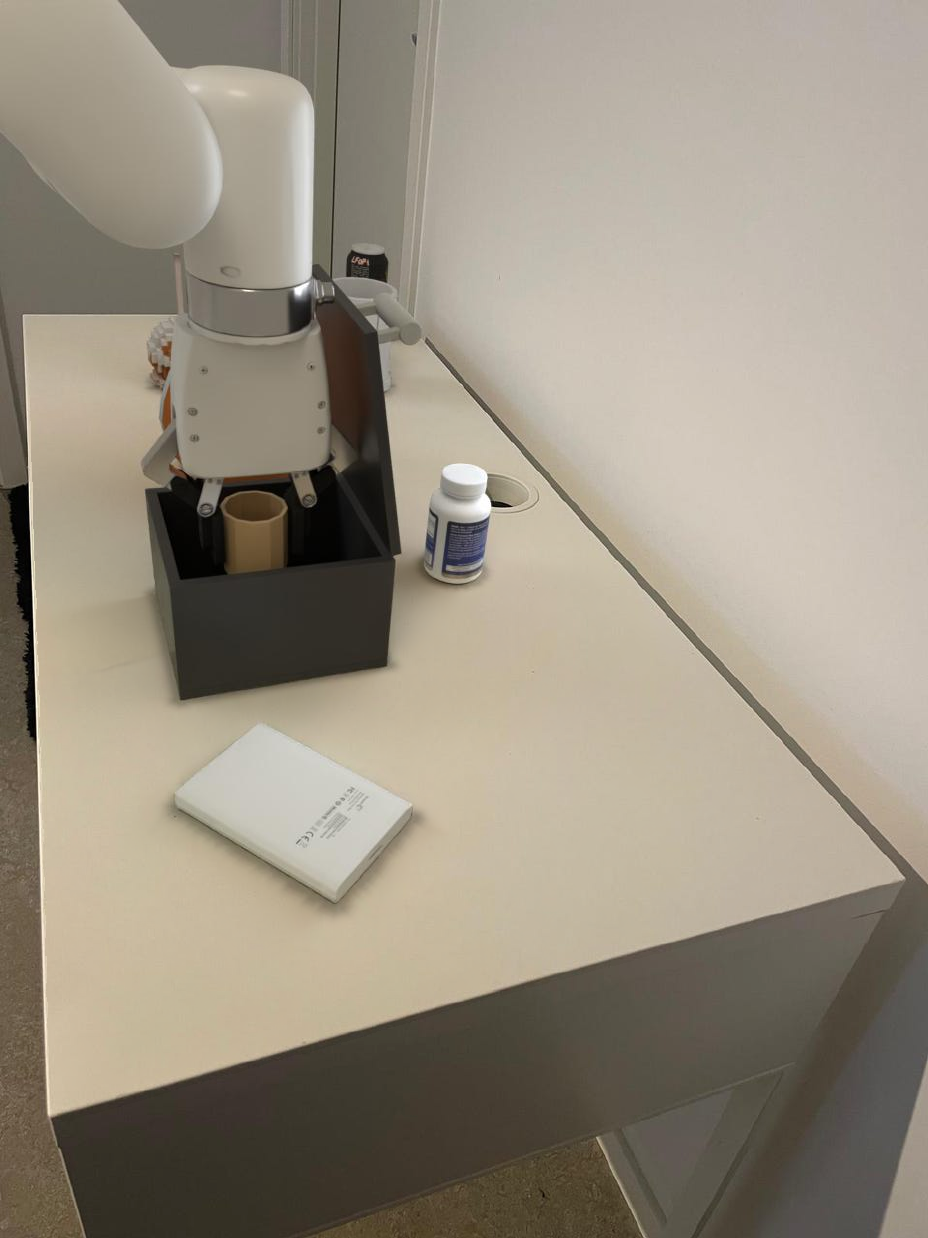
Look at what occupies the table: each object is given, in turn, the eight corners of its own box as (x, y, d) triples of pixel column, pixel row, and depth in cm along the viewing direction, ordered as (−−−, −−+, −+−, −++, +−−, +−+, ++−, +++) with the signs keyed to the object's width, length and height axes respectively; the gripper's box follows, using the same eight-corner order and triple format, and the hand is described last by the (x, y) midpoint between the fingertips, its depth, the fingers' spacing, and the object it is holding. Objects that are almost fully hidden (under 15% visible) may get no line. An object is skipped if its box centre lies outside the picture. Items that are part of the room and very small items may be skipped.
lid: (365, 333, 54) (441, 318, 55) (307, 265, 63) (374, 253, 65) (391, 556, 64) (455, 539, 65) (338, 468, 74) (395, 455, 75)
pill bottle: (492, 567, 83) (507, 473, 78) (461, 592, 80) (475, 495, 74) (444, 546, 85) (455, 452, 80) (411, 570, 82) (421, 473, 76)
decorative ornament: (160, 398, 104) (148, 265, 96) (145, 373, 110) (132, 244, 101) (226, 393, 108) (221, 263, 99) (209, 368, 113) (202, 243, 104)
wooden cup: (230, 586, 65) (227, 526, 62) (218, 552, 68) (215, 493, 65) (293, 578, 66) (293, 519, 63) (279, 545, 70) (278, 488, 67)
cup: (370, 408, 109) (375, 309, 102) (301, 391, 111) (302, 292, 104) (401, 380, 117) (408, 286, 110) (337, 365, 119) (340, 271, 112)
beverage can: (373, 326, 133) (378, 240, 126) (390, 339, 129) (396, 252, 122) (337, 328, 130) (340, 241, 123) (353, 342, 126) (357, 253, 119)
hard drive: (261, 737, 63) (411, 818, 58) (175, 810, 57) (334, 906, 52) (261, 719, 62) (413, 801, 57) (173, 792, 56) (335, 889, 51)
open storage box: (180, 700, 64) (169, 588, 59) (155, 593, 74) (144, 488, 69) (387, 666, 70) (396, 560, 64) (339, 571, 80) (343, 472, 74)
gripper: (364, 282, 62) (352, 514, 72) (97, 282, 55) (128, 536, 66) (400, 320, 56) (381, 564, 67) (108, 325, 50) (140, 593, 61)
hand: (255, 548), depth 66 cm, fingers open, 5 cm apart
